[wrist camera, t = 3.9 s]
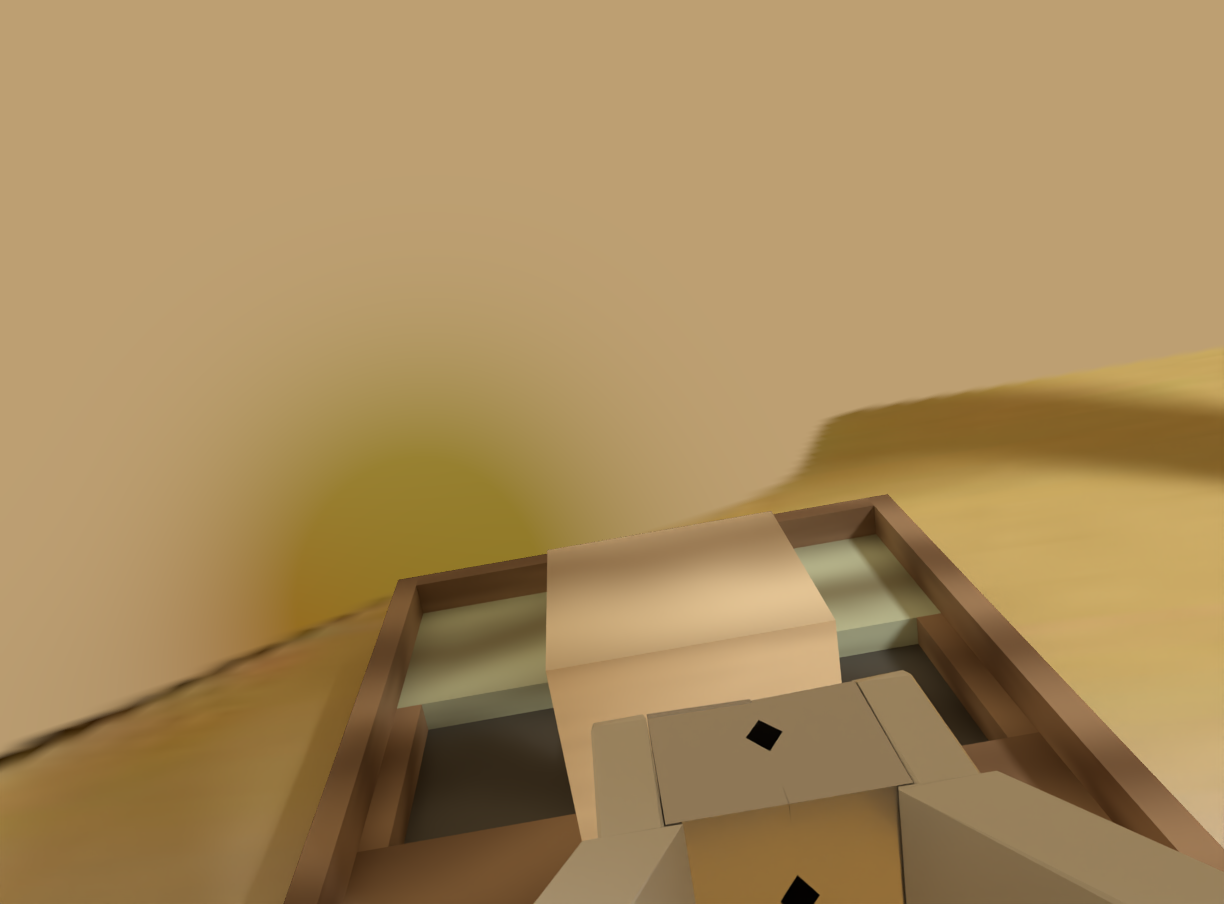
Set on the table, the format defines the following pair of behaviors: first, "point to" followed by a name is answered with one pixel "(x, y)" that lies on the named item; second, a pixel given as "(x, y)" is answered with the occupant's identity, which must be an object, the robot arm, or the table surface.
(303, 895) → the tray
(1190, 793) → the table surface
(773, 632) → the maple block
